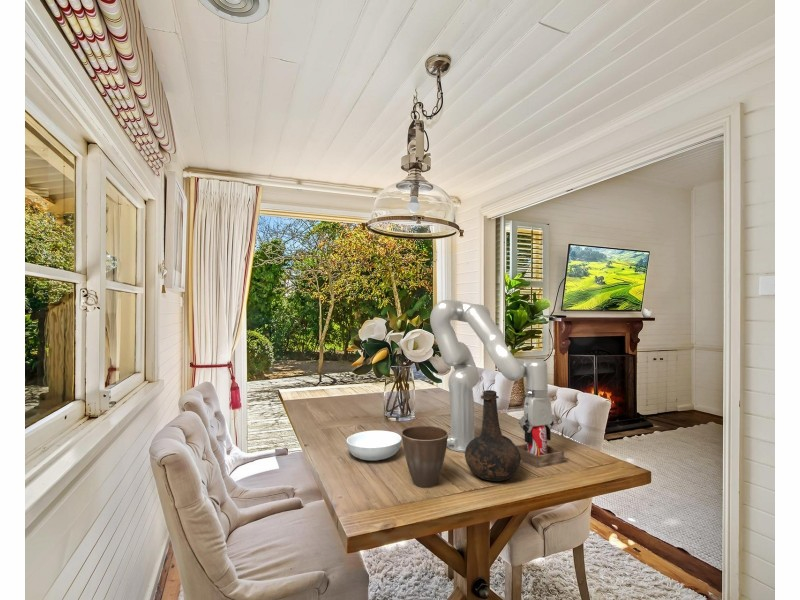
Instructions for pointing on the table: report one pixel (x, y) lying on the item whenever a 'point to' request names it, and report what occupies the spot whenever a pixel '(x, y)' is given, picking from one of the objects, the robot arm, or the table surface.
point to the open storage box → (541, 456)
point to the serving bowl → (374, 444)
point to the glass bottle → (492, 446)
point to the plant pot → (424, 453)
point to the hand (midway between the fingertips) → (537, 440)
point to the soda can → (538, 441)
